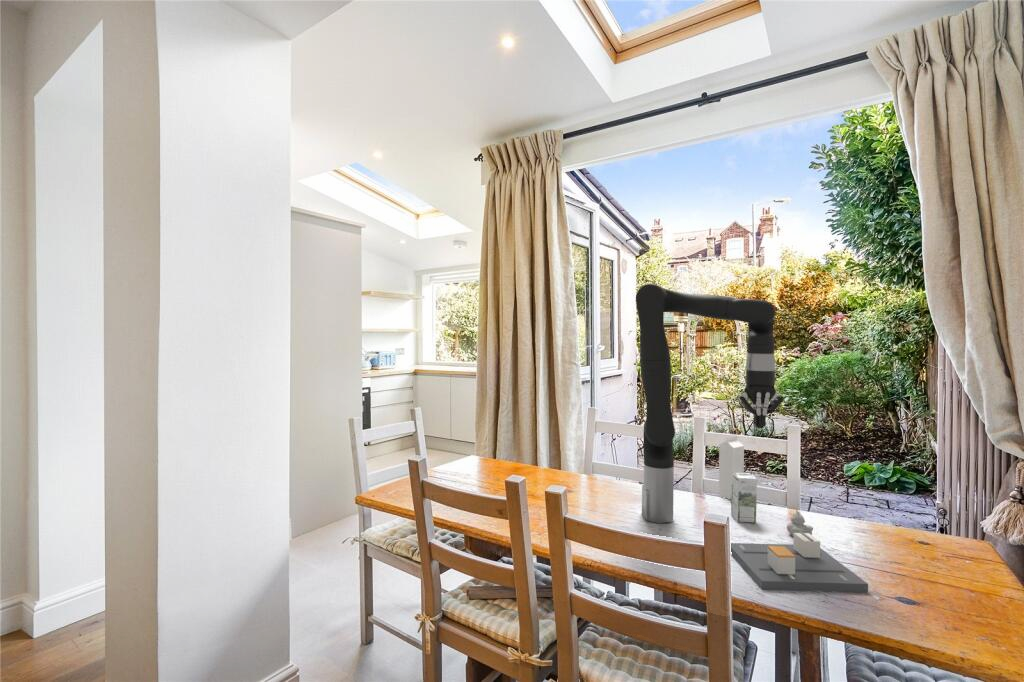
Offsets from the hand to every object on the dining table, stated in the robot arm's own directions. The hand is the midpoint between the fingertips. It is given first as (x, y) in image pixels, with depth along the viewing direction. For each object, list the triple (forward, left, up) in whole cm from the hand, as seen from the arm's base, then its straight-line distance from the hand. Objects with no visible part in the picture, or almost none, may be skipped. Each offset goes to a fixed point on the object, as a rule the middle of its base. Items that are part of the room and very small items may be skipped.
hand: (759, 427), depth 139 cm
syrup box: (+1, +12, -32) cm, 34 cm away
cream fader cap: (+5, -16, -30) cm, 34 cm away
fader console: (-1, -20, -32) cm, 38 cm away
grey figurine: (+12, 0, -32) cm, 34 cm away
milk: (+6, +34, -32) cm, 47 cm away
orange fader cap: (-6, -25, -30) cm, 39 cm away
